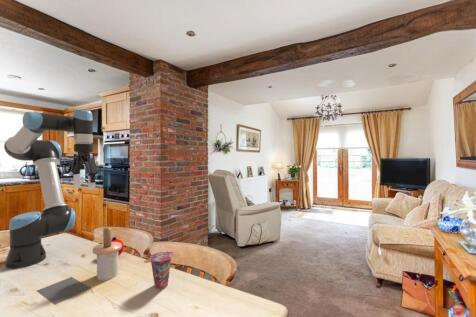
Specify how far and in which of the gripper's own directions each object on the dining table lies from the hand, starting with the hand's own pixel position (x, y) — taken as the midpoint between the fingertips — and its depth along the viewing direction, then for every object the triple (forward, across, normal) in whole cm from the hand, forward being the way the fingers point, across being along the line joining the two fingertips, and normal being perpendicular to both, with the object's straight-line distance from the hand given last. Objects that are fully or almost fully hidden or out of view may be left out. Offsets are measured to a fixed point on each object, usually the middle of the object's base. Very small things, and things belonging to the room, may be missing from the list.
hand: (84, 188), depth 113 cm
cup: (+37, +44, +8) cm, 58 cm away
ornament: (+37, +2, +13) cm, 39 cm away
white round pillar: (+37, +19, 0) cm, 42 cm away
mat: (+37, +15, -15) cm, 42 cm away
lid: (+25, +19, 0) cm, 31 cm away
